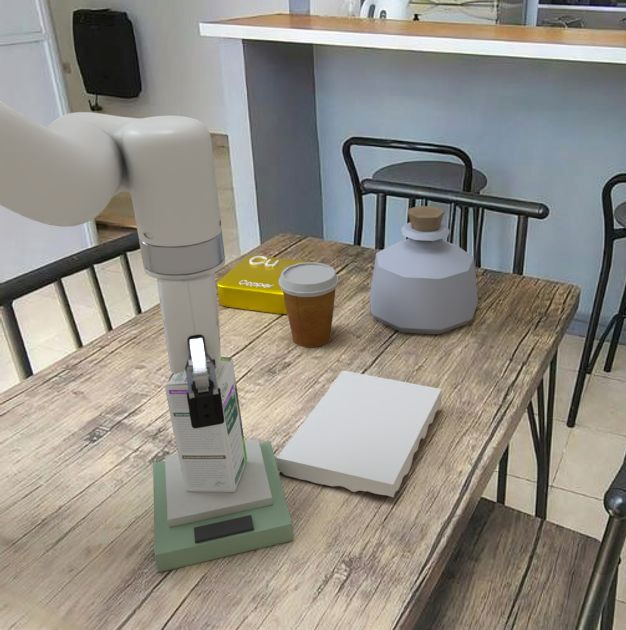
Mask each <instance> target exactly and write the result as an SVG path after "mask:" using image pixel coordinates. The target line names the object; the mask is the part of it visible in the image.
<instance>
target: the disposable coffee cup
mask: <svg viewBox="0 0 626 630" xmlns="http://www.w3.org/2000/svg"><path fill="white" fill-rule="evenodd" d="M338 276H339V275H337V274H336V269H335V268H334V267H333V266H331V265H328V264H326V263H323V262H322V263H321V262H315V261H309V262H307V263H298V264H294V265H291V266H289V267H287V268H285V269H284V270H283V271H282V272H281V277H280V278H279V286H280V287H281V289H282V290H283V295H284V300H285V304H286V309H287V314H286V315H287V318H288V323H289V327H290V333H291V336H292V337H291V338H292V341H293V343H294V344H296V345H297V346H299V347H303V348H317V347H321V346H324V345H327V343H329V342H330V340H331V337H332V327H333V318H334V309H335V297H336V288H337V285H338V284H339V277H338Z"/></svg>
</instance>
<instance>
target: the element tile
mask: <svg viewBox="0 0 626 630" xmlns="http://www.w3.org/2000/svg"><path fill="white" fill-rule="evenodd" d="M307 262H310V260H309V261H308V260H299V259H291V258H290V259H289V258H283V257H282V258H281V257H273V256H265V255H257V254H255V255H254V254H251V255H248V256H246V257H245V258H243V259H242V260H241V261H240V262H239V263H237V265H235V266H234V267H233V268H232V269H231V270H229V271H228V272H227V273H226V274H225V275H223V276H222V277H221V278H220V279H219V280H218V281H217V282H216V290H217V296H218V297H217V298H218V303H219V304H220V306H223V307H226V308H232V309H239V310H246V311H253V312H262V313H271V314H275V315H276V314H277V315H288V314H287V309H286V304H285V300H284V295H283V290H282V289H281V287H280V286H279V278H280V277H281V272H282V271H283V270H284V269H285V268H287V267H289V266H291V265H294V264H298V263H307Z"/></svg>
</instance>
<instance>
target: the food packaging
mask: <svg viewBox="0 0 626 630" xmlns="http://www.w3.org/2000/svg"><path fill="white" fill-rule="evenodd" d="M442 391H443V390H442V388H438V387H434V386H433V387H432V386H428V385H423V384H417V383H412V382H406V381H400V380H396V379H390V378H385V377H379V376H375V375H369V374H364V373H358V372H353V371H348V370H341V371H340V373H339V375H338V376H337V377H336V379H335V380H334V381H333V382H332V384H331V385H330V387H328V389H327V390H326V392H325V393H324V394H323V396H322V397H321V399H320V400H319V401H318V402H317V404H316V405H315V406H314V407H313V409H311V412H310V413H309V414H308V416H307V417H306V418H305V420H303V422H302V424H300V426H299V428H298V429H297V430H296V431H295V432H294V434H293V435H292V436H291V438H290V439H289V440H288V442H287V443H286V444H285V446H284V447H283V448H282V450H281V451H280V453H279V454H278V455H277V456H276V464H277V467H278V471H279V472H281V474H283V475H284V476H286V477H290V478H294V479H298V480H301V481H307V482H311V483H314V484H317V485H323V486H324V485H325V486H330V487H341V488H345V489H347V490H349V491H350V492H353V493H356V492H358V491H361V492H363V493H365V492H369V493H372V494H374V495H380V496H388V497H389V498H390V497H391V498H394V497H395V494H396V492H398V491H399V489H400V487H401V485H402V483H403V479H404V477H405V476H406V475H408V474H409V472H410V470H411V467H412V463H413V458H414V456H415V453H416V452H417V451H418V449H419V445H420V441H421V440H425V438H426V436H427V433H428V429H429V425H431V424H433V423H434V419H435V415H436V413H437V412H438V411H439V410H440V407H441V406H442V394H443V393H442Z"/></svg>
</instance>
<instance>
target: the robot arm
mask: <svg viewBox="0 0 626 630" xmlns="http://www.w3.org/2000/svg"><path fill="white" fill-rule="evenodd" d="M213 151H214V150H213V144H212V138H211V134H210V130H209V129H208V127H207V126H206V124H205V123H204V122H202V121H201V120H199V119H197V118H194V117H190V116H183V115H154V116H148V117H143V118H138V117H129V116H119V115H112V114H107V113H100V112H99V113H98V112H89V111H77V112H70V113H67V114H63V115H61V116H59V117H57V118H56V119H54V120H53V121H52V122H50V123H49V124H47V125H46V126H44V125H42V124H40V123H38V122H37V121H35V120H34V119H32V118H30V117H28V116H27V115H24V114H23V113H21V112H20V111H18V110H16V109H15V108H13V107H11V106H9V105H8V104H7V103H6V102H4V101H2V100H0V206H1V207H3V208H5V209H7V210H9V211H12V212H13V213H16V214H18V215H20V216H22V217H24V218H27V219H29V220H32V221H34V222H38V223H41V224H44V225H48V226H54V227H61V228H64V227H65V228H67V227H76V226H80V225H84V224H86V223H88V222H91V221H92V220H94V219H95V218H97V217H98V216H100V214H101V213H102V212H103V211H104V210H105V208H107V206H108V205H109V203H110V202H111V201H112V199H113V198H114V196H116V195H118V194H120V193H122V192H128V193H129V195H130V197H131V203H132V209H133V215H134V219H135V225H136V231H137V236H138V242H139V247H140V253H141V259H142V265H143V271H144V272H145V274H146V275H148V276H149V277H152V278H154V279H156V284H157V293H158V300H159V307H160V313H161V319H162V326H163V330H164V331H163V333H164V335H165V336H164V338H165V344H166V350H167V357H168V363H169V370H170V372H171V374H172V373H174V374H178V373H181V372H184V370H185V371H186V376H187V384H188V391H189V393H187V400H188V406H189V413H190V419H191V425H192V427H193V428H202V427H207V426H213V425H219V424H222V423H224V413H223V406H222V398H221V390H220V388H218V387H217V380H216V373H215V367H216V368H217V367H218V366H219V365H220V364H221V357H222V354H221V331H220V319H219V318H220V317H219V315H220V314H219V305H218V297H217V296H218V294H217V285H216V278H215V273H216V272H219V271H220V270H222V269H223V268H224V267H225V264H226V256H225V255H226V253H225V246H224V237H223V229H222V220H221V212H220V205H219V193H218V185H217V176H216V167H215V159H214V152H213ZM188 358H189V360H192V363H193V365H189V361H188ZM205 358H210V362H209V363H206V360H205ZM207 370H210V376H211V379H210V378H209V379H208V373H207ZM193 372H194V378H195V381H193V378H192V373H193Z"/></svg>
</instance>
